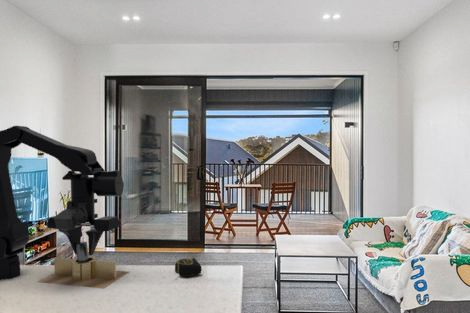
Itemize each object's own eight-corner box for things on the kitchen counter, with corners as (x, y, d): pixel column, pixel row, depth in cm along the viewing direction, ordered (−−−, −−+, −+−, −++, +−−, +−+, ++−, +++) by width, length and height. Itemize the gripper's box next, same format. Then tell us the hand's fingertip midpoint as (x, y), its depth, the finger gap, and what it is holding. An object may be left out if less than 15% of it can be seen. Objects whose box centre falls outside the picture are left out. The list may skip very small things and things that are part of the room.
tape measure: (202, 277, 98) (202, 263, 98) (177, 280, 96) (176, 266, 96) (197, 269, 104) (196, 256, 104) (173, 271, 102) (173, 258, 102)
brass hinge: (46, 278, 95) (46, 261, 95) (63, 270, 101) (63, 254, 101) (108, 283, 91) (108, 266, 91) (121, 275, 97) (121, 258, 97)
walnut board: (36, 285, 93) (36, 281, 93) (68, 270, 104) (68, 266, 104) (104, 292, 88) (103, 288, 88) (130, 275, 99) (130, 271, 99)
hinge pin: (76, 278, 95) (73, 244, 95) (83, 274, 98) (80, 241, 98) (85, 278, 94) (82, 244, 94) (92, 274, 97) (89, 241, 97)
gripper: (29, 199, 90) (31, 261, 90) (94, 201, 85) (95, 266, 86) (61, 194, 101) (62, 249, 101) (120, 195, 96) (121, 253, 96)
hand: (84, 254), depth 96 cm, fingers open, 4 cm apart
